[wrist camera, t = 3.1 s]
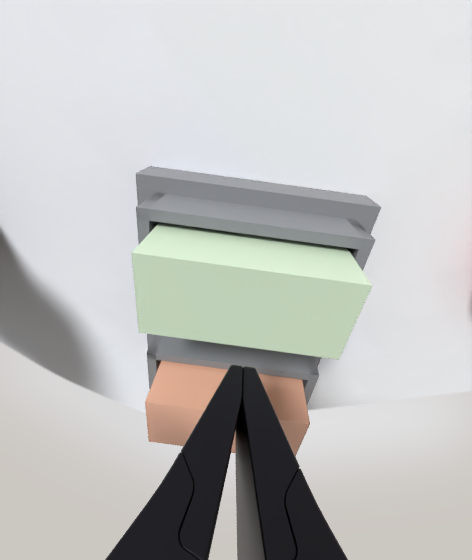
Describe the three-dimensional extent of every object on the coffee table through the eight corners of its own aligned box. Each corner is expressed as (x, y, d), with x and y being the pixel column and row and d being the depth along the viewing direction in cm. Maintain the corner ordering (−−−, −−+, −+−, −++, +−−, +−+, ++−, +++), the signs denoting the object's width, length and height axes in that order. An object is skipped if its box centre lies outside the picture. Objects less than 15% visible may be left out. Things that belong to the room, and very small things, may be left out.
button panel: (158, 360, 27) (137, 412, 22) (150, 166, 18) (111, 185, 13) (299, 379, 27) (308, 435, 22) (366, 196, 18) (405, 225, 13)
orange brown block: (165, 391, 22) (148, 441, 19) (164, 352, 20) (145, 401, 16) (287, 407, 22) (293, 460, 19) (300, 370, 20) (309, 423, 16)
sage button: (162, 288, 17) (138, 332, 14) (161, 220, 15) (131, 252, 11) (322, 310, 17) (339, 359, 14) (345, 245, 15) (372, 285, 11)
